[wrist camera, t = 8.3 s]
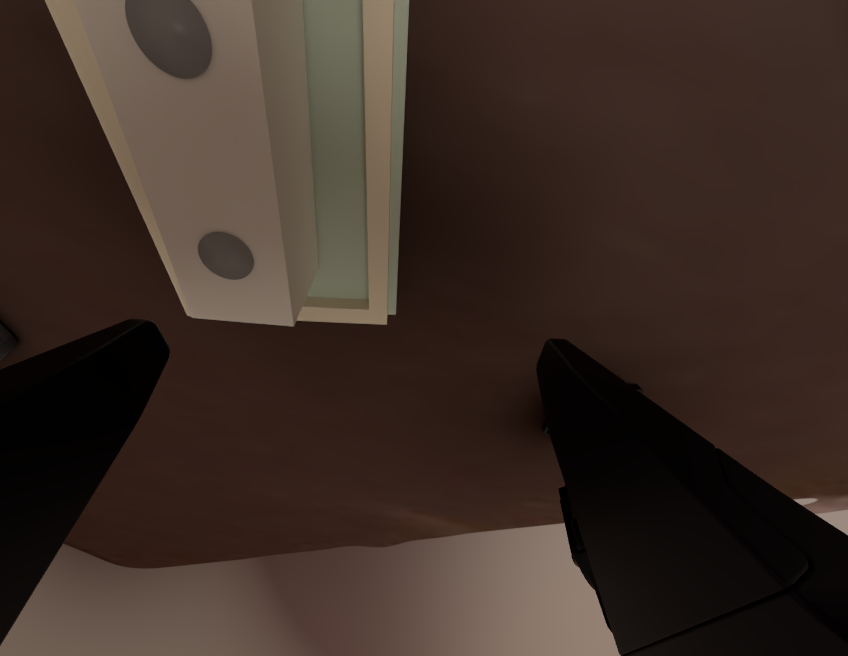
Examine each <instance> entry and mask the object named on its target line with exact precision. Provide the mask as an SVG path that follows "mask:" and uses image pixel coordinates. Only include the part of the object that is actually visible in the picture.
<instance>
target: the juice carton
mask: <svg viewBox="0 0 848 656" xmlns="http://www.w3.org/2000/svg"><path fill="white" fill-rule="evenodd" d="M16 345H17V342H16V339H15V338H14V337H13V335H12V334H11V333H10V332H9V331H8V330H7V329H6V328H5V327H4V326H3V325H2V324H1V323H0V361H1V360H2V359H3V358H4V357H5V356H6V355H8V354H9V353H10V352H11V351H12V350H13V349H14V348H15V346H16Z"/></svg>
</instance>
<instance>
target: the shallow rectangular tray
mask: <svg viewBox="0 0 848 656" xmlns="http://www.w3.org/2000/svg"><path fill="white" fill-rule="evenodd" d="M45 2H46V4H47V6H48V9H49V11H50V13H51V15H52V17H53V20H54V22H55V24H56V26H57V28H58V31H59V33H60V35H61V37H62V40H63V42H64V44H65V46H66V48H67V51H68V53H69V55H70V57H71V59H72V62H73V64H74V66H75V68H76V71H77V73H78V75H79V77H80V79H81V82H82V84H83V86H84V88H85V90H86V93H87V95H88V97H89V99H90V101H91V104H92V106H93V108H94V110H95V113H96V115H97V117H98V119H99V121H100V124H101V126H102V128H103V130H104V132H105V135H106V137H107V139H108V141H109V144H110V146H111V148H112V150H113V152H114V155H115V157H116V159H117V161H118V163H119V166H120V168H121V170H122V172H123V175H124V177H125V179H126V181H127V183H128V186H129V188H130V190H131V192H132V194H133V197H134V199H135V201H136V203H137V205H138V208H139V210H140V212H141V214H142V217H143V219H144V221H145V223H146V225H147V228H148V230H149V232H150V234H151V236H152V239H153V241H154V243H155V245H156V248H157V250H158V252H159V254H160V256H161V259H162V261H163V263H164V265H165V267H166V270H167V272H168V274H169V276H170V278H171V281H172V283H173V285H174V287H175V290H176V292H177V294H178V296H179V298H180V301H181V303H182V305H183V307H184V309H185V312H186V314H187V316H191V315H190V312H189V309H188V307H187V304H186V301H185V299H184V296H183V293H182V291H181V288H180V285H179V282H178V280H177V277H176V274H175V272H174V269H173V266H172V263H171V261H170V258H169V255H168V253H167V250H166V247H165V245H164V242H163V239H162V236H161V234H160V231H159V228H158V226H157V223H156V220H155V217H154V215H153V212H152V209H151V207H150V204H149V201H148V199H147V196H146V193H145V190H144V188H143V185H142V182H141V180H140V177H139V174H138V172H137V169H136V166H135V163H134V161H133V158H132V155H131V153H130V150H129V147H128V144H127V142H126V139H125V136H124V134H123V131H122V128H121V126H120V123H119V120H118V117H117V115H116V112H115V109H114V107H113V104H112V101H111V98H110V96H109V93H108V90H107V88H106V85H105V82H104V80H103V77H102V74H101V71H100V69H99V66H98V63H97V61H96V58H95V55H94V53H93V50H92V47H91V44H90V42H89V39H88V36H87V34H86V31H85V28H84V25H83V23H82V20H81V17H80V15H79V12H78V9H77V7H76V4H75V1H74V0H45ZM303 16H304V32H305V49H306V65H307V82H308V98H309V115H310V131H311V147H312V164H313V180H314V197H315V213H316V230H317V246H318V263H319V270H318V272H317V274H316V277H315V279H314V281H313V283H312V286H311V288H310V290H309V293H308V295H307V297H306V300H305V302H304V304H303V306H302V309H301V311H300V313H299V316H298V318H297V320H296V321H316V322H338V323H361V324H383V325H387V315H396V299H397V275H398V252H399V228H400V205H401V181H402V158H403V134H404V111H405V87H406V64H407V40H408V17H409V0H303Z"/></svg>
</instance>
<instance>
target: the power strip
mask: <svg viewBox="0 0 848 656" xmlns="http://www.w3.org/2000/svg"><path fill="white" fill-rule="evenodd" d="M74 1H75V4H76V7H77V9H78V12H79V15H80V17H81V20H82V23H83V25H84V28H85V31H86V34H87V36H88V39H89V42H90V44H91V47H92V50H93V53H94V55H95V58H96V61H97V63H98V66H99V69H100V71H101V74H102V77H103V80H104V82H105V85H106V88H107V90H108V93H109V96H110V98H111V101H112V104H113V107H114V109H115V112H116V115H117V117H118V120H119V123H120V126H121V128H122V131H123V134H124V136H125V139H126V142H127V144H128V147H129V150H130V153H131V155H132V158H133V161H134V163H135V166H136V169H137V172H138V174H139V177H140V180H141V182H142V185H143V188H144V190H145V193H146V196H147V199H148V201H149V204H150V207H151V209H152V212H153V215H154V217H155V220H156V223H157V226H158V228H159V231H160V234H161V236H162V239H163V242H164V245H165V247H166V250H167V253H168V255H169V258H170V261H171V263H172V266H173V269H174V272H175V274H176V277H177V280H178V282H179V285H180V288H181V291H182V293H183V296H184V299H185V301H186V304H187V307H188V309H189V312H190V315H191V318H200V319H212V320H223V321H235V322H247V323H259V324H270V325H282V326H294V325H295V323H296V320H297V318H298V316H299V313H300V311H301V309H302V306H303V304H304V302H305V300H306V297H307V295H308V293H309V290H310V288H311V286H312V283H313V281H314V279H315V277H316V274H317V272H318V270H319V263H318V246H317V230H316V213H315V197H314V180H313V164H312V147H311V131H310V115H309V98H308V82H307V65H306V49H305V32H304V16H303V0H74Z"/></svg>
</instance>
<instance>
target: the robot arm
mask: <svg viewBox="0 0 848 656" xmlns="http://www.w3.org/2000/svg"><path fill="white" fill-rule="evenodd" d="M169 354H170V350H169V346H168V344H167V343H166V341H165V339H164V337H163V335H162V333H161V331H160V329H159V327H158V326H157V324H156V323H155V322H154V321H152V320H147V319H129V320H126V321H123V322H121V323H118V324H116V325H113V326H111V327H108V328H106V329H103V330H100V331H98V332H95V333H93V334H90V335H88V336H85V337H83V338H80V339H77V340H75V341H72V342H70V343H67V344H65V345H62V346H60V347H57V348H54V349H52V350H49V351H47V352H44V353H42V354H39V355H36V356H34V357H31V358H29V359H26V360H24V361H21V362H19V363H16V364H13V365H11V366H8V367H6V368H3V369H1V370H0V645H1V644H2V642H3V640H4V639H5V637H6V636H7V634H8V632H9V631H10V629H11V627H12V626H13V624H14V623H15V621H16V619H17V618H18V616H19V614H20V613H21V611H22V610H23V608H24V606H25V605H26V603H27V601H28V600H29V598H30V596H31V595H32V593H33V592H34V590H35V588H36V587H37V585H38V583H39V582H40V580H41V579H42V577H43V575H44V574H45V572H46V570H47V569H48V567H49V566H50V564H51V562H52V561H53V559H54V557H55V555H56V554H57V552H58V551H59V549H60V547H61V546H62V544H63V543H64V541H65V539H66V538H67V536H68V535H69V533H70V531H71V530H72V528H73V526H74V525H75V523H76V522H77V520H78V518H79V517H80V515H81V513H82V512H83V510H84V509H85V507H86V505H87V504H88V502H89V500H90V499H91V497H92V495H93V494H94V492H95V491H96V489H97V487H98V486H99V484H100V482H101V481H102V479H103V478H104V476H105V474H106V473H107V471H108V469H109V468H110V466H111V465H112V463H113V461H114V460H115V458H116V456H117V455H118V453H119V451H120V450H121V448H122V447H123V445H124V443H125V442H126V440H127V438H128V437H129V435H130V434H131V432H132V430H133V429H134V427H135V425H136V424H137V422H138V420H139V418H140V417H141V415H142V413H143V411H144V409H145V407H146V405H147V403H148V401H149V398H150V396H151V394H152V392H153V390H154V388H155V386H156V384H157V382H158V379H159V377H160V375H161V373H162V371H163V369H164V367H165V365H166V363H167V361H168V358H169ZM536 371H537V377H538V382H539V387H540V392H541V398H542V403H543V408H544V413H545V418H546V423H545V424H544V426H543V432H544V434H545V435H550V438H551V441H552V444H553V447H554V450H555V453H556V457H557V460H558V463H559V466H560V469H561V472H562V475H563V479H564V482H565V485H566V486H564V487H561V488H559V494H560V498H561V499H560V503H561V508H562V512H563V517H564V522H565V527H566V530H567V535H568V541H569V545H570V550H571V554H572V559H573V562H574V563H575V565H576V566H578V567H579V568H580V570H581V572H582V574H583V575H584V577H585V579H586V580H587V582H588V583H589V584H590V586H591V587H592V588H593V589H594V590H595V591H596V594H597V597H598V600H599V603H600V606H601V608H602V612H603V615H604V618H605V621H606V624H607V626H608V628H609V629H610V631H611V632H612V633H613V636H614V639H615V642H616V645H617V648H618V652H619V654H620V655H621V656H848V535H846V534H845V533H843V532H842V531H840V530H838V529H837V528H835V527H834V526H832V525H831V524H829V523H828V522H826V521H824V520H823V519H822V518H820V517H818V516H817V515H815V514H814V513H812V512H811V511H809V510H808V509H806V508H805V507H803V506H802V505H800V504H798V503H797V502H795V501H794V500H793V499H791V498H789V497H788V496H786V495H785V494H783V493H782V492H780V491H779V490H777V489H776V488H774V487H773V486H771V485H770V484H769V483H767V482H766V481H764V480H763V479H761V478H760V477H758V476H757V475H756V474H754V473H753V472H751V471H750V470H748V469H747V468H746V467H744V466H743V465H741V464H740V463H738V462H737V461H736V460H734V459H733V458H731V457H730V456H729V455H727V454H726V453H724V452H723V451H722V450H720V449H718V448H715V446H714V445H713V444H712V443H710V442H709V441H708V440H706V439H705V438H703V437H702V436H700V435H699V434H698V433H696V432H695V431H693V430H692V429H691V428H689V427H688V426H686V425H685V424H684V423H682V422H681V421H679V420H678V419H677V418H675V417H674V416H672V415H671V414H670V413H668V412H667V411H665V410H664V409H663V408H661V407H660V406H658V405H657V404H656V403H654V402H653V401H651V400H650V399H649V398H647V397H646V396H644V395H643V390H642V389H641V388H640V387H639V386H630V385H629V384H628V383H626V382H625V381H623V380H622V379H621V378H619V377H618V376H616V375H615V374H614V373H612V372H611V371H609V370H608V369H607V368H605V367H604V366H602V365H601V364H599V363H598V362H597V361H595V360H594V359H592V358H591V357H590V356H588V355H587V354H585V353H584V352H583V351H581V350H580V349H578V348H577V347H576V346H574V345H573V344H571V343H570V342H569V341H567V340H565V339H548V340H547V341H546V343H545V345H544V347H543V350H542V352H541V355H540V357H539V360H538V362H537V368H536Z"/></svg>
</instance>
